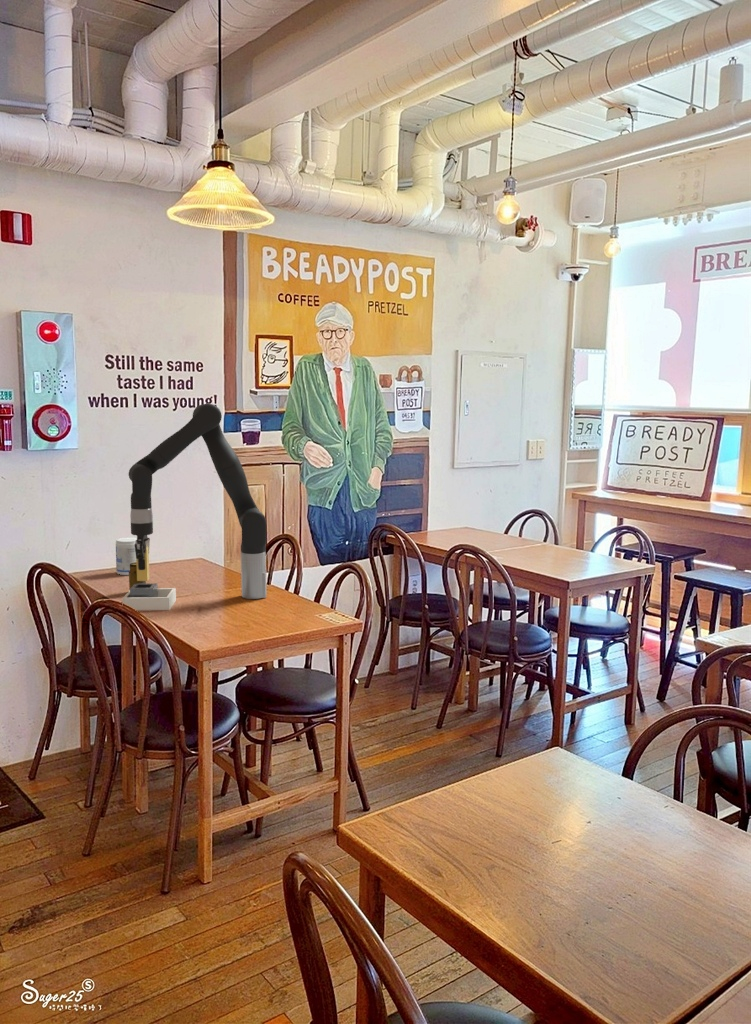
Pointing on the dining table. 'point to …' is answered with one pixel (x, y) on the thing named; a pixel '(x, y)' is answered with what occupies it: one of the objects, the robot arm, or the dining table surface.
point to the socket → (144, 590)
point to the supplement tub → (125, 555)
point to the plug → (144, 574)
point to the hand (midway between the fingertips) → (143, 568)
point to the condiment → (133, 575)
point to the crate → (152, 600)
